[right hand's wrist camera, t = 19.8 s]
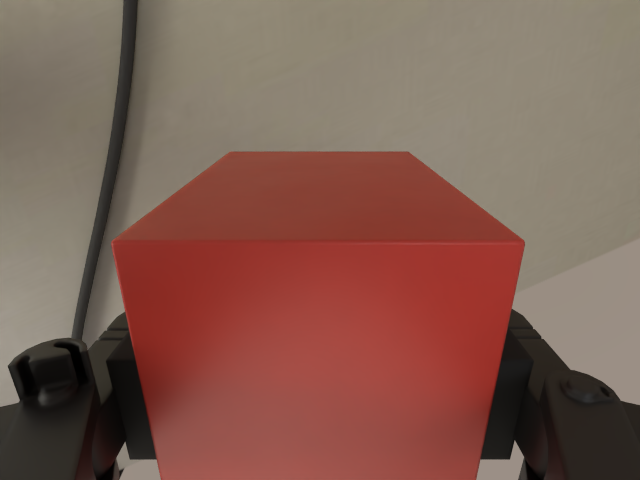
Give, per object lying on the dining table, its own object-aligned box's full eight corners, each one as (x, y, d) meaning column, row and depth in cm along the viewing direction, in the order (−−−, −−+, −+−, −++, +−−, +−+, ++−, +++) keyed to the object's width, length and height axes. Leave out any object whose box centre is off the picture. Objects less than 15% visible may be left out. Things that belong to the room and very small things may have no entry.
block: (394, 327, 18) (462, 550, 10) (244, 327, 18) (174, 550, 10) (408, 151, 15) (527, 240, 7) (229, 151, 15) (108, 241, 7)
